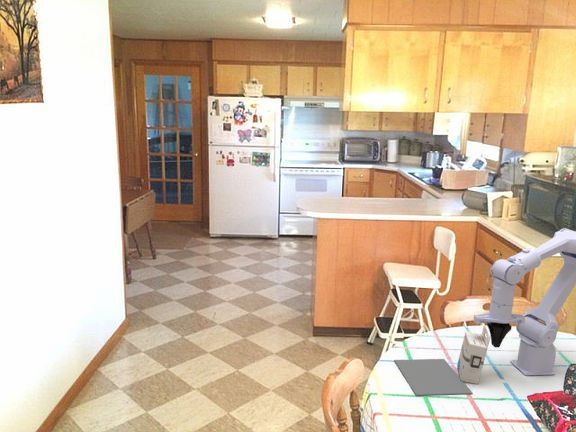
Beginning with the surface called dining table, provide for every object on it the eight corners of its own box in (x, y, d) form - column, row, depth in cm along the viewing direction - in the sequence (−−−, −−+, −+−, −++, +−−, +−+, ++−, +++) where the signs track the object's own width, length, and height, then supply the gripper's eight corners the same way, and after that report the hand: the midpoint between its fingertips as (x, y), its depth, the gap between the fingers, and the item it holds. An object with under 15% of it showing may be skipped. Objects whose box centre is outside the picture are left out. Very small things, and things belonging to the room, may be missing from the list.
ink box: (456, 365, 140) (467, 321, 136) (473, 369, 139) (484, 324, 136) (460, 380, 132) (472, 333, 128) (478, 385, 131) (490, 337, 127)
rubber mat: (443, 360, 144) (444, 358, 144) (472, 394, 126) (472, 392, 126) (394, 361, 142) (394, 359, 142) (416, 396, 125) (416, 394, 124)
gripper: (517, 296, 136) (510, 338, 139) (470, 296, 134) (465, 339, 137) (532, 306, 129) (525, 350, 132) (483, 306, 128) (477, 351, 130)
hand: (495, 345), depth 134 cm, fingers closed
